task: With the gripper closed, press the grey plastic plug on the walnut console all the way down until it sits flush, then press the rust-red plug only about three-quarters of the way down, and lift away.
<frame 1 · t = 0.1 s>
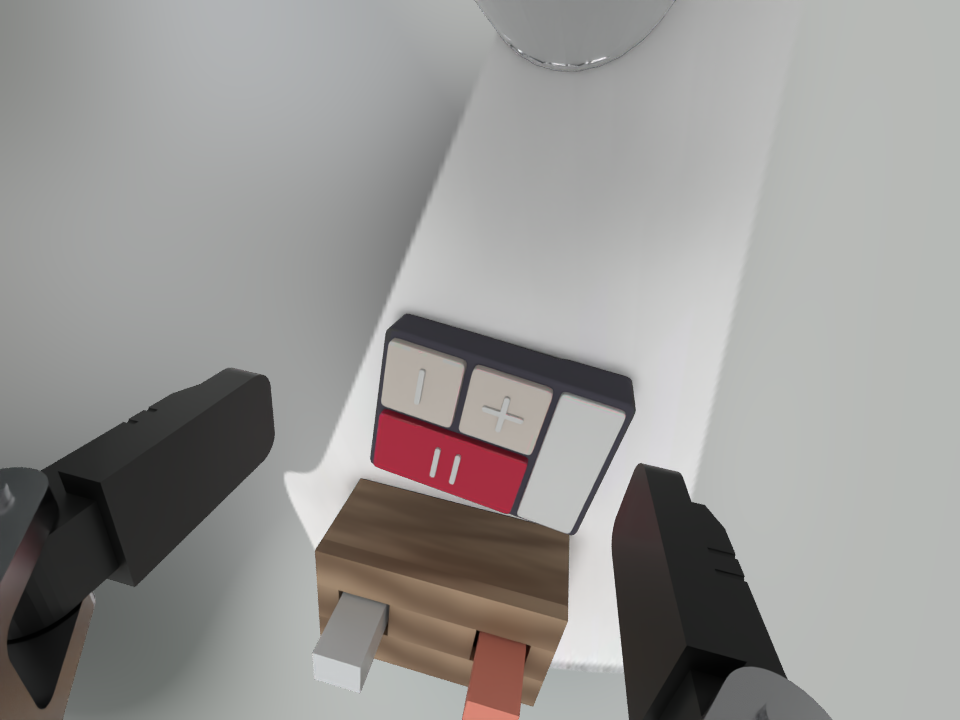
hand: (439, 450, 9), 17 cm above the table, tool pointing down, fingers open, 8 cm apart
red plug: (498, 660, 30), point 8 cm above the table, slide at 0.0 cm
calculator: (496, 409, 30), on the table
console: (454, 550, 37), on the table
grey plug: (360, 620, 31), point 8 cm above the table, slide at 0.0 cm
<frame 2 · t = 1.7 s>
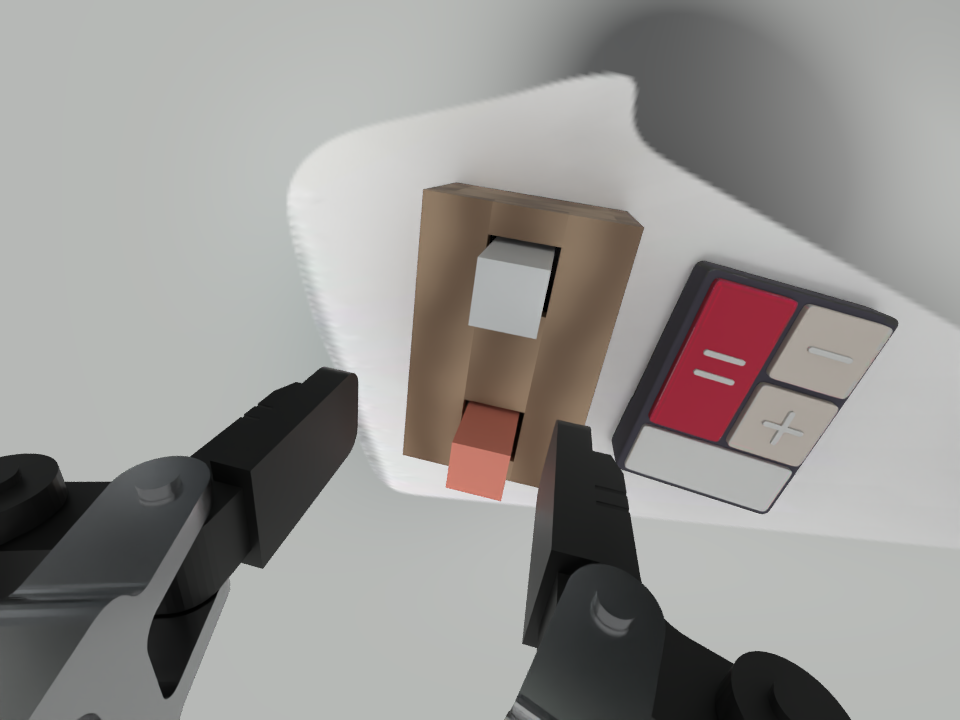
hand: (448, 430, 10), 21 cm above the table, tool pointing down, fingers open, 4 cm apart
red plug: (488, 435, 27), point 8 cm above the table, slide at 0.0 cm
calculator: (723, 379, 31), on the table
console: (516, 320, 31), on the table
grey plug: (516, 279, 22), point 7 cm above the table, slide at 0.0 cm
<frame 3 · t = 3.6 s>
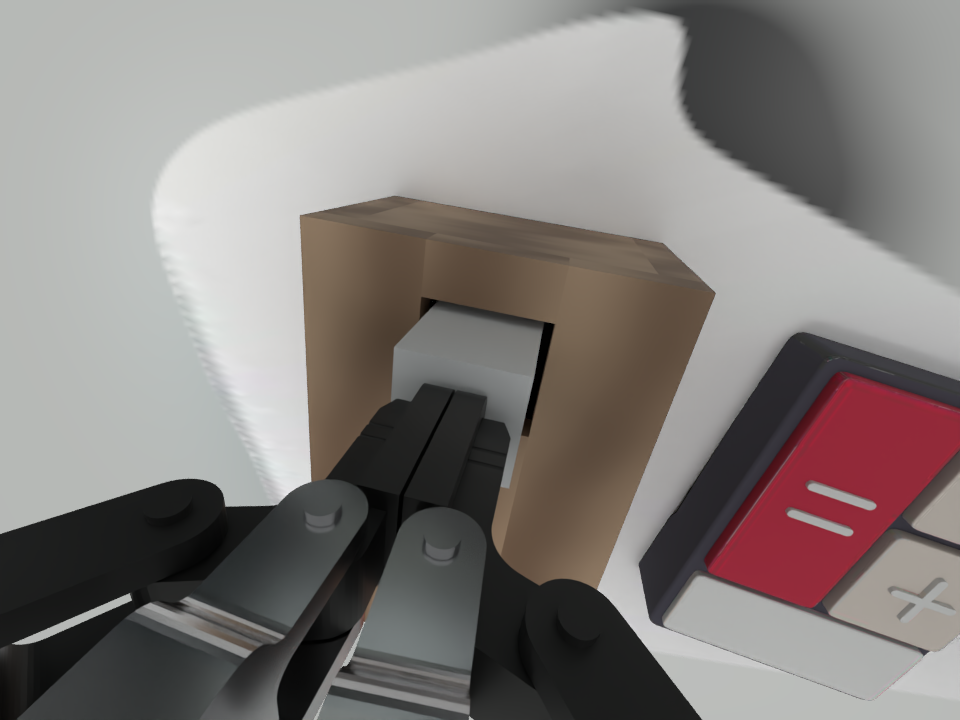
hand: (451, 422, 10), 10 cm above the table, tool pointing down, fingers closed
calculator: (810, 496, 21), on the table
console: (491, 397, 21), on the table
grey plug: (482, 360, 13), point 6 cm above the table, slide at 1.2 cm, touching gripper
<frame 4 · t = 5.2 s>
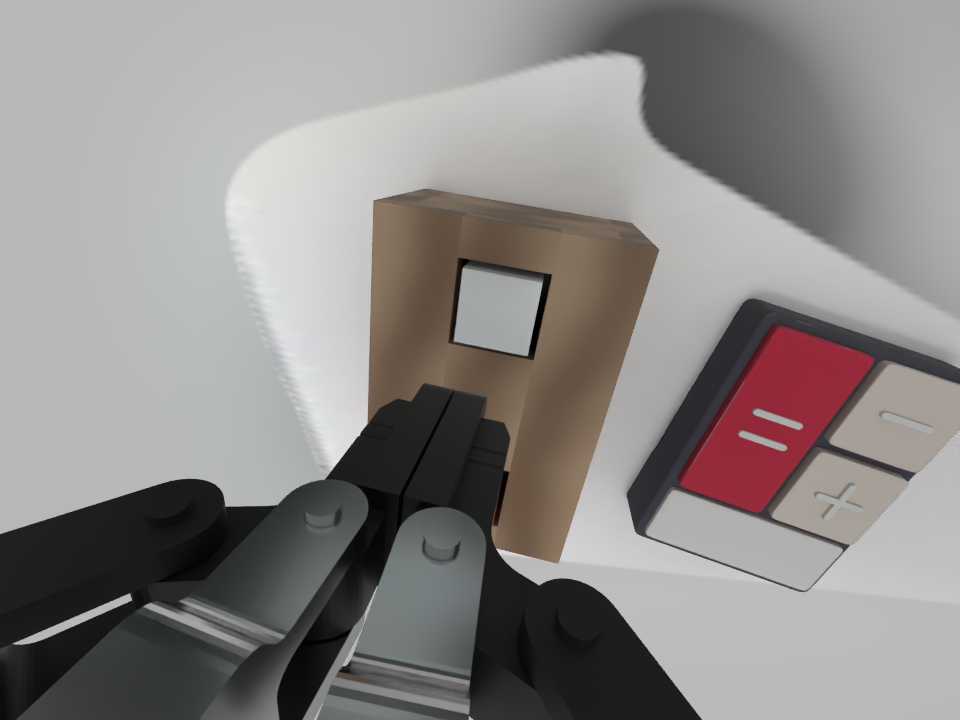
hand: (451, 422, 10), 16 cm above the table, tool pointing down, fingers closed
red plug: (465, 498, 22), point 8 cm above the table, slide at 0.0 cm
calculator: (762, 433, 26), on the table
console: (500, 351, 26), on the table
grey plug: (506, 290, 21), point 4 cm above the table, slide at 3.7 cm
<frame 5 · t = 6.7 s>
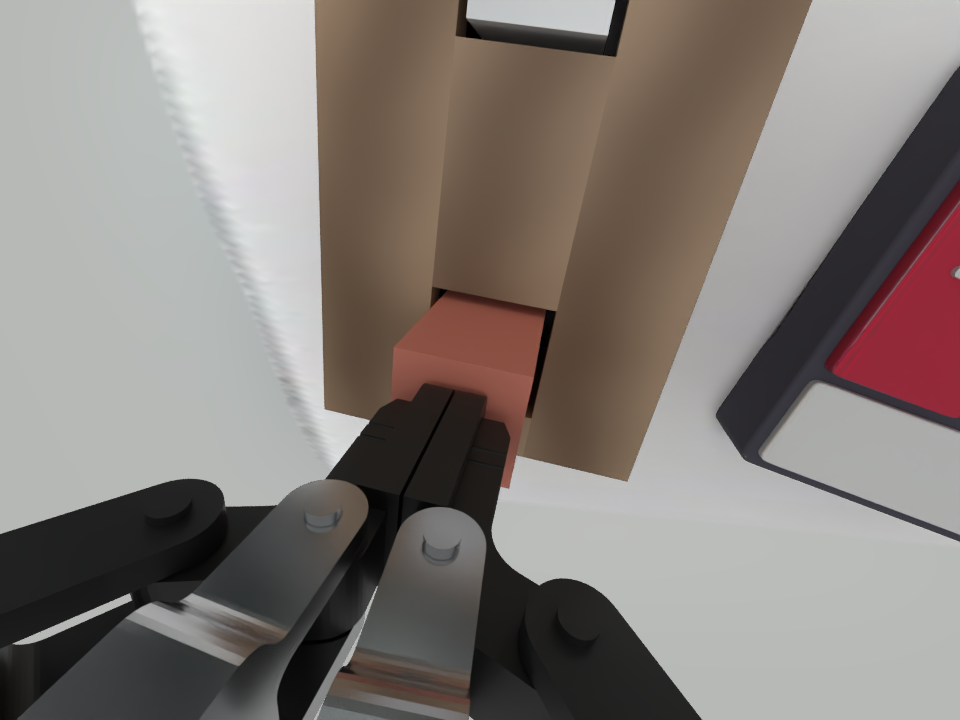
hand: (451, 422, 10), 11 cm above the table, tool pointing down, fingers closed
red plug: (482, 360, 13), point 7 cm above the table, slide at 0.2 cm, touching gripper
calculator: (938, 314, 17), on the table
console: (533, 177, 18), on the table
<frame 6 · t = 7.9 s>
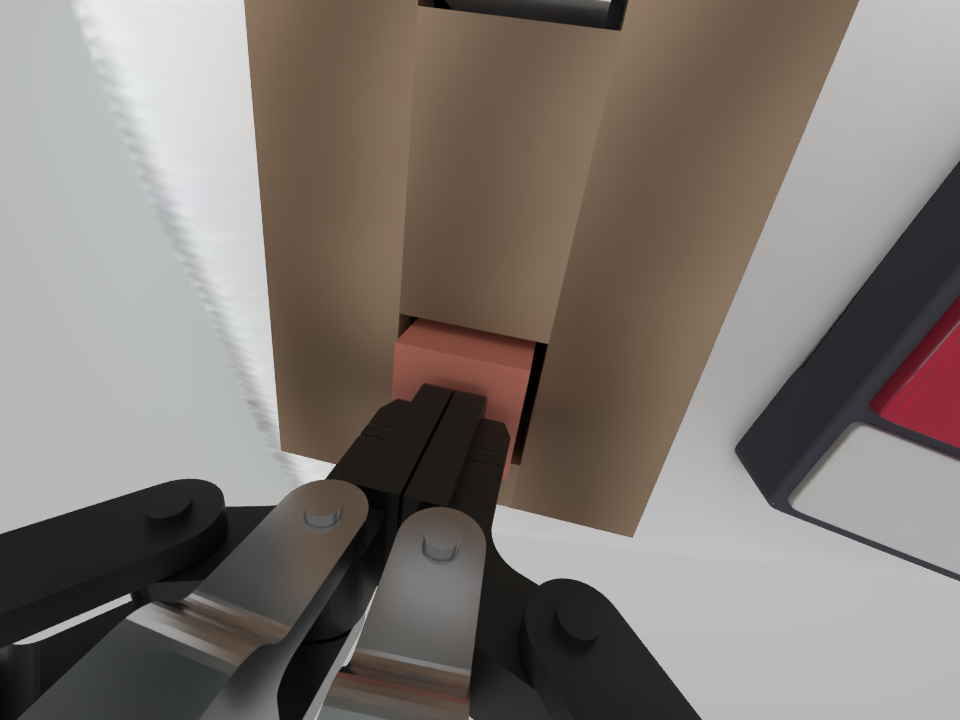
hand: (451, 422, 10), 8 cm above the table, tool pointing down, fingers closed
red plug: (480, 356, 14), point 5 cm above the table, slide at 3.0 cm
console: (522, 181, 16), on the table
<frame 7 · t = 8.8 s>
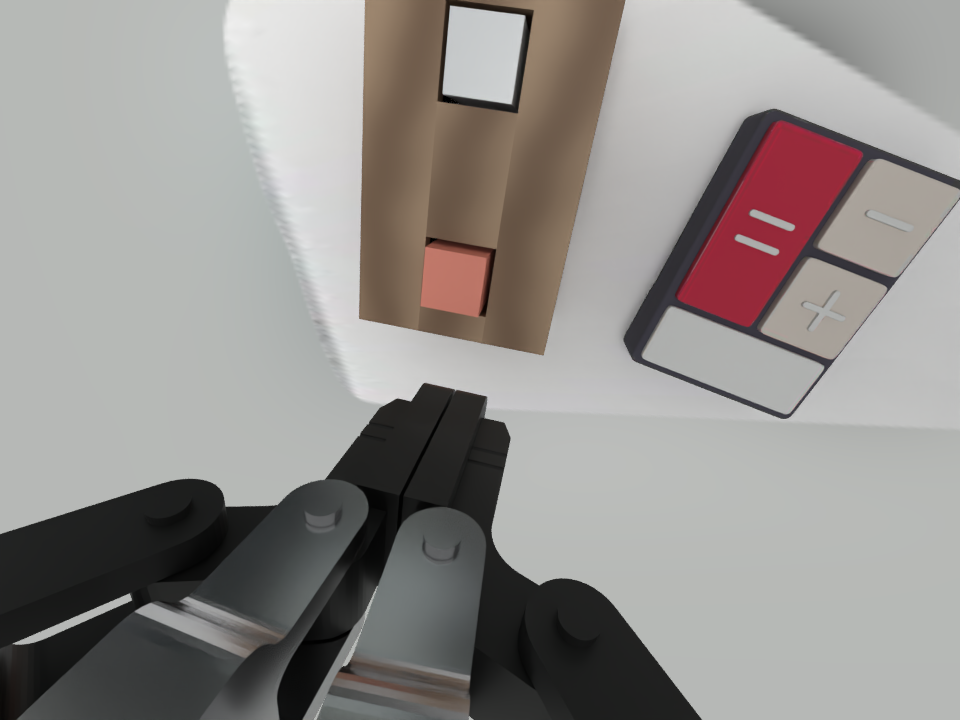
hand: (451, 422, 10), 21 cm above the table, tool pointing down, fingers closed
red plug: (465, 267, 26), point 5 cm above the table, slide at 3.0 cm
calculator: (754, 270, 28), on the table
console: (489, 174, 27), on the table
grey plug: (492, 71, 22), point 4 cm above the table, slide at 3.7 cm
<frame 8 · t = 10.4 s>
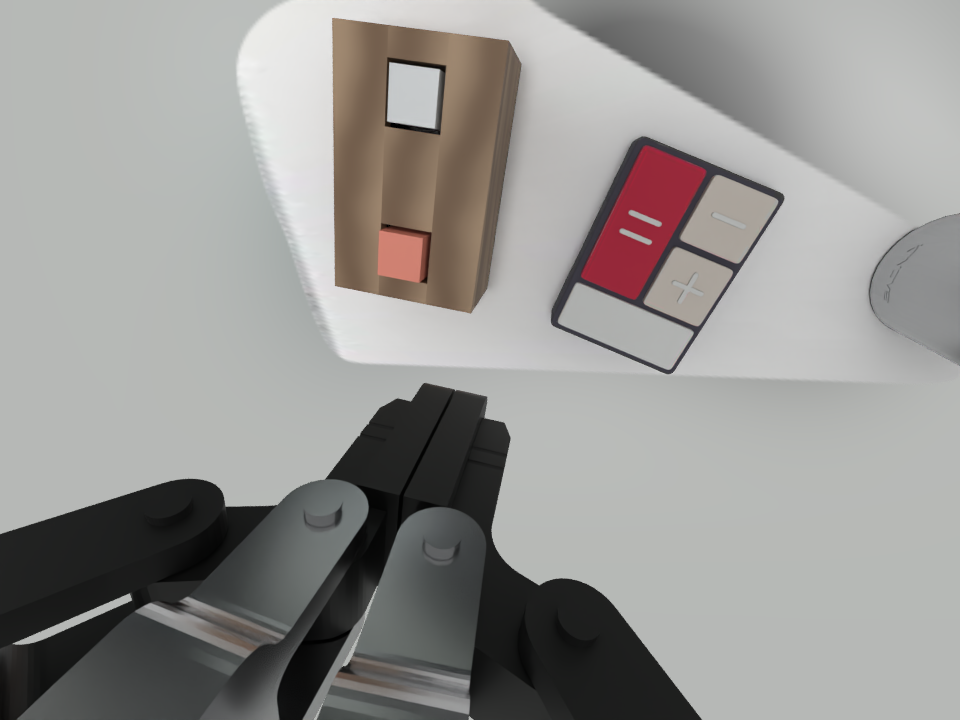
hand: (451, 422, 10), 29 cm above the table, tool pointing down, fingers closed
red plug: (415, 248, 34), point 5 cm above the table, slide at 3.0 cm
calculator: (649, 257, 36), on the table
console: (437, 177, 36), on the table
grey plug: (429, 102, 30), point 4 cm above the table, slide at 3.7 cm
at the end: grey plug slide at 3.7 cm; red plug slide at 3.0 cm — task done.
